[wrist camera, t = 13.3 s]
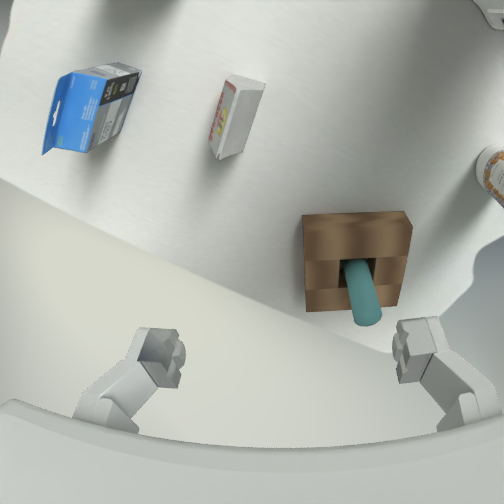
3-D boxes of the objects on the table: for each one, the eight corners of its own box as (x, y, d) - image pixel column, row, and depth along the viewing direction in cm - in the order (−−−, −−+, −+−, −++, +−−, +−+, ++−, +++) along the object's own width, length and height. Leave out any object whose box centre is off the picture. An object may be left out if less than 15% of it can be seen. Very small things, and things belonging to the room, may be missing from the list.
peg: (364, 244, 44) (383, 305, 34) (362, 263, 46) (379, 325, 36) (341, 245, 44) (355, 307, 35) (340, 265, 46) (352, 327, 37)
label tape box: (120, 133, 37) (68, 170, 27) (95, 122, 36) (39, 156, 26) (143, 70, 32) (90, 86, 22) (116, 60, 31) (56, 74, 21)
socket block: (403, 211, 40) (412, 226, 37) (390, 288, 48) (396, 305, 45) (302, 215, 42) (304, 231, 39) (305, 293, 50) (306, 312, 47)
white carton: (265, 83, 32) (260, 96, 24) (248, 136, 36) (237, 166, 28) (234, 74, 32) (218, 84, 24) (218, 127, 36) (198, 155, 28)
